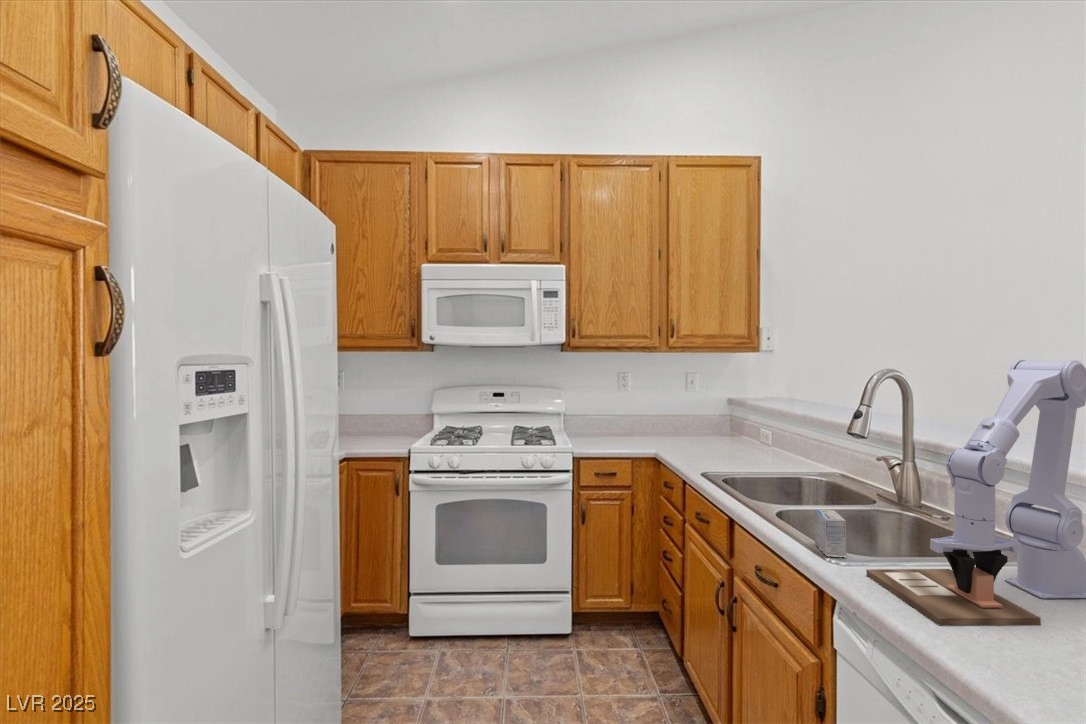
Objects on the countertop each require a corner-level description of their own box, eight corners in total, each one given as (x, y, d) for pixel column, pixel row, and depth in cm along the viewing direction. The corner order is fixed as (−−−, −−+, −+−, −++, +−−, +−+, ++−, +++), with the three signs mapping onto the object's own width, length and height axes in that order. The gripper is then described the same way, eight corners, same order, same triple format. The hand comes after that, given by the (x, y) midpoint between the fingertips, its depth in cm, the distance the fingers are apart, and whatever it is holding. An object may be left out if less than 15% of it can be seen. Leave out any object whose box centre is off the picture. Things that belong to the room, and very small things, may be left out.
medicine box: (846, 559, 117) (846, 520, 117) (825, 557, 118) (825, 519, 118) (834, 546, 125) (834, 509, 125) (814, 545, 126) (814, 508, 126)
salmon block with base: (965, 586, 100) (966, 561, 100) (1002, 607, 92) (1002, 579, 92) (946, 586, 100) (946, 561, 100) (981, 607, 92) (982, 580, 92)
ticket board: (949, 574, 109) (949, 567, 109) (1040, 624, 89) (1040, 616, 89) (866, 575, 109) (866, 568, 109) (939, 625, 89) (939, 616, 89)
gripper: (995, 509, 99) (995, 581, 100) (918, 509, 99) (918, 581, 100) (1030, 521, 92) (1029, 598, 92) (946, 521, 92) (946, 598, 93)
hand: (973, 590), depth 96 cm, fingers closed on salmon block with base, 3 cm apart
